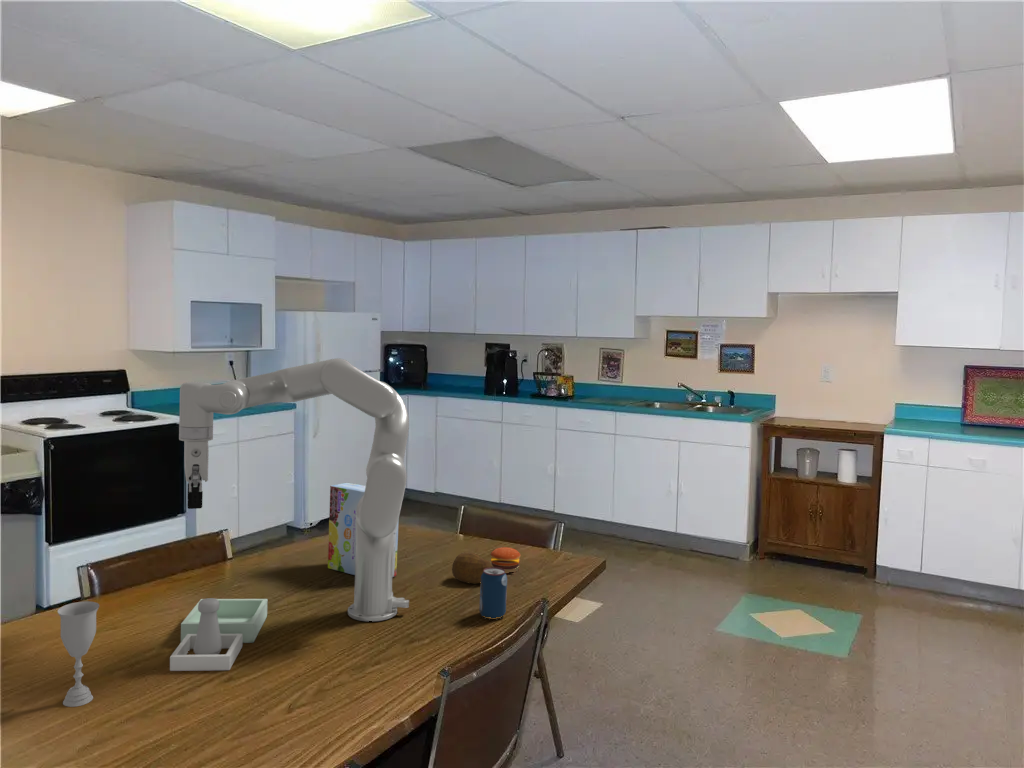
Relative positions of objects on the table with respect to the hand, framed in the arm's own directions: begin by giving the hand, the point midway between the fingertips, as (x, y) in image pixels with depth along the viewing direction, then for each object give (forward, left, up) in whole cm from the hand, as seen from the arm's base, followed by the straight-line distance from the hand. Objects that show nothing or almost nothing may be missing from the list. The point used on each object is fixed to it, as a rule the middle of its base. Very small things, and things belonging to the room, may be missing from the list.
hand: (194, 503), depth 181 cm
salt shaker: (-9, +21, -30) cm, 37 cm away
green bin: (-9, +5, -29) cm, 31 cm away
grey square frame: (-9, +21, -29) cm, 37 cm away
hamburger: (-82, -42, -30) cm, 97 cm away
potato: (-70, -29, -30) cm, 81 cm away
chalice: (+10, +39, -30) cm, 50 cm away
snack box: (-38, -38, -30) cm, 61 cm away
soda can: (-74, -3, -30) cm, 80 cm away
